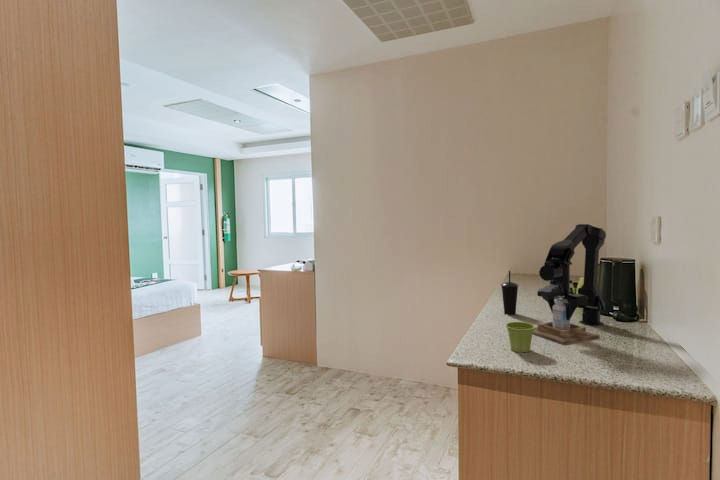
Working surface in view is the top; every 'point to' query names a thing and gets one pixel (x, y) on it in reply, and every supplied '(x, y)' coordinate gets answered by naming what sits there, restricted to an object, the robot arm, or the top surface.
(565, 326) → the pill bottle
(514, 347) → the plant pot
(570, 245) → the robot arm
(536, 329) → the holder
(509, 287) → the drinking cup
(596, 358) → the top surface
